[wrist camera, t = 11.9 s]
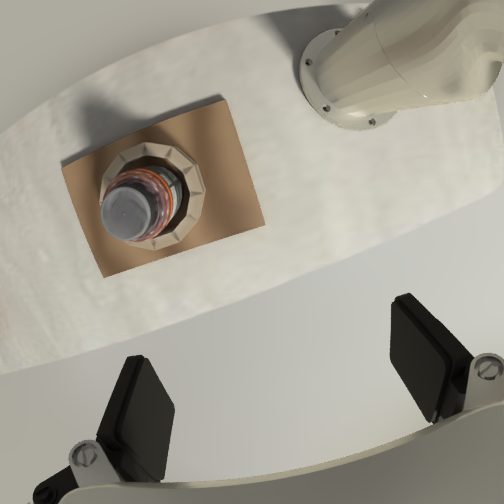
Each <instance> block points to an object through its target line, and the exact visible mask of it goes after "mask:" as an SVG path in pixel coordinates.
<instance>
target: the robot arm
mask: <svg viewBox="0 0 504 504" xmlns="http://www.w3.org/2000/svg"><path fill="white" fill-rule="evenodd" d="M306 62H307V63H308V64H309V66H308V65H306V64H305V63H306ZM502 63H504V0H374V1H373V2H372V3H370V4H369V5H368V6H367V7H366V8H365V9H364V10H363V11H362V12H361V13H359V14H358V15H357V16H356V17H355V18H354V19H353V20H352V21H351V22H350V23H349V24H348V25H347V26H345V27H344V28H334V29H329V30H327V31H324V32H322V33H320V34H319V35H317V36H316V37H314V38H313V39H312V40H311V41H310V43H309V44H308V45H307V47H306V48H305V50H304V51H303V54H302V56H301V59H300V66H299V76H300V82H301V85H302V89H303V91H304V93H305V95H306V97H307V99H308V101H309V102H310V104H311V105H312V106H313V108H314V109H315V110H316V111H317V112H318V113H319V114H320V115H321V116H322V117H324V118H325V119H327V120H328V121H329V122H331V123H333V124H335V125H337V126H339V127H342V128H345V129H349V130H358V131H361V130H371V129H375V128H378V127H380V126H382V125H384V124H386V123H387V122H388V121H390V120H391V119H392V118H393V116H394V115H395V114H396V113H397V111H398V110H405V109H411V108H418V107H425V106H432V105H440V104H447V103H455V102H463V101H468V100H472V99H475V98H478V97H480V96H481V95H483V94H484V93H485V92H487V91H488V90H489V89H490V88H491V86H492V85H493V83H494V82H495V80H496V78H497V77H498V74H499V72H500V69H501V66H502ZM323 107H325V108H326V111H324V110H323ZM369 121H370V122H371V123H370V124H369ZM390 360H391V363H392V364H393V366H394V368H395V369H396V371H397V373H398V374H399V376H400V377H401V379H402V381H403V382H404V384H405V385H406V387H407V388H408V390H409V392H410V393H411V395H412V397H413V399H414V400H415V402H416V404H417V405H418V407H419V409H420V410H421V412H422V414H423V415H424V417H425V419H426V420H427V421H428V422H429V423H430V422H432V423H433V425H431V426H429V427H427V428H424V429H422V430H420V431H417V432H415V433H412V434H410V435H407V436H405V437H402V438H400V439H397V440H394V441H392V442H389V443H386V444H384V445H381V446H378V447H375V448H372V449H369V450H366V451H363V452H360V453H357V454H354V455H350V456H347V457H344V458H340V459H337V460H333V461H329V462H325V463H321V464H317V465H313V466H309V467H304V468H299V469H295V470H290V471H284V472H279V473H273V474H267V475H261V476H254V477H246V478H238V479H228V480H218V481H205V482H204V481H203V482H176V483H160V480H163V479H164V476H165V470H166V463H167V456H168V450H169V444H170V436H171V430H172V425H173V418H174V413H175V408H174V404H173V402H172V401H171V399H170V397H169V396H168V394H167V392H166V390H165V389H164V387H163V385H162V383H161V381H160V380H159V378H158V376H157V374H156V372H155V370H154V368H153V367H152V365H151V363H150V361H149V359H148V358H144V356H142V355H136V356H129V357H127V359H126V361H125V364H124V366H123V368H122V370H121V373H120V375H119V378H118V380H117V382H116V385H115V387H114V390H113V393H112V395H111V398H110V400H109V402H108V405H107V408H106V410H105V413H104V416H103V418H102V421H101V423H100V426H99V429H98V432H97V434H96V435H97V438H96V441H94V440H84V441H82V442H79V443H78V444H76V445H75V446H74V447H73V448H72V450H71V451H70V453H69V464H70V465H69V466H68V467H66V468H65V469H63V470H61V471H60V472H58V473H56V474H55V475H53V476H52V477H50V478H48V479H47V480H45V481H43V482H42V483H40V484H39V485H38V486H37V487H36V488H35V490H34V493H33V502H34V503H33V504H504V359H503V358H501V357H500V356H498V355H496V354H492V353H483V354H480V355H478V356H476V357H475V358H474V357H473V356H472V355H471V354H470V353H469V351H468V350H467V349H466V348H465V347H464V346H463V345H462V344H461V343H460V342H459V341H458V340H457V338H456V337H455V336H454V335H453V334H452V333H451V332H450V331H449V330H448V329H447V328H446V327H445V326H444V325H443V324H442V323H441V322H440V321H439V320H438V319H436V318H435V317H434V316H433V315H432V314H431V313H430V312H429V311H428V310H427V309H426V308H425V307H424V306H423V305H422V304H421V303H420V302H419V301H418V300H417V299H416V298H415V297H414V296H413V295H412V294H411V293H407V294H403V295H401V296H397V297H396V298H395V301H394V302H392V304H391V340H390ZM28 504H31V503H30V502H29V503H28Z"/></svg>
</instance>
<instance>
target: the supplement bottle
mask: <svg viewBox="0 0 504 504" xmlns="http://www.w3.org/2000/svg"><path fill="white" fill-rule="evenodd" d="M183 196H184V189H183V184H182V181H181V179H180V178H179V176H178V175H177V174H176V173H175V172H174V171H173V170H172V169H170V168H168V167H166V166H163V165H151V166H146V167H142V168H138V169H134V170H130V171H126V172H124V173H122V174H120V175H118V176H117V177H116V178H114V179H113V180H112V181H111V183H110V184H109V185H108V187H107V189H106V191H105V193H104V196H103V202H102V204H101V209H100V216H101V221H102V224H103V226H104V228H105V229H106V231H107V232H108V233H109V234H110V235H111V236H113V237H114V238H116V239H119V240H124V241H130V242H144V241H147V240H150V239H152V238H154V237H155V236H157V235H158V234H159V233H160V232H161V231H162V230H163V229H164V228H165V226H166V225H167V224H168V223H169V221H170V220H171V219H172V217H173V216H174V215H175V213H176V212H177V211H178V209H179V208H180V206H181V204H182V201H183Z"/></svg>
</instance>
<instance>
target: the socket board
mask: <svg viewBox="0 0 504 504" xmlns="http://www.w3.org/2000/svg"><path fill="white" fill-rule="evenodd" d="M151 165H163V166H166V167H168V168H170V169H172V170H173V171H174V172H175V173H176V174H177V175H178V176H179V178H180V179H181V181H182V184H183V189H184V196H183V201H182V204H181V206H180V208H179V209H178V211H177V212H176V213H175V215H174V216H173V217H172V219H171V220H170V221H169V223H168V224H167V225H166V226H165V228H164V229H163V230H162V231H161V232H160V233H159V234H158V235H157V236H155V237H154V238H152V239H150V240H147V241H144V242H130V241H124V240H119V239H116V238H114V237H113V236H111V235H110V234H109V233H108V232H107V231H106V229H105V228H104V226H103V224H102V221H101V216H100V209H101V204H102V202H103V196H104V193H105V191H106V189H107V187H108V185H109V184H110V183H111V181H112V180H113V179H114V178H116V177H117V176H118V175H120V174H122V173H124V172H126V171H130V170H134V169H138V168H142V167H146V166H151ZM61 170H62V173H63V176H64V179H65V182H66V185H67V188H68V191H69V194H70V197H71V200H72V203H73V205H74V208H75V211H76V213H77V216H78V219H79V221H80V224H81V226H82V229H83V232H84V234H85V236H86V239H87V241H88V244H89V246H90V248H91V251H92V253H93V255H94V258H95V260H96V262H97V264H98V267H99V269H100V271H101V273H102V275H103V278H106V277H109V276H111V275H114V274H117V273H120V272H123V271H126V270H129V269H132V268H135V267H138V266H141V265H144V264H147V263H150V262H153V261H156V260H159V259H162V258H165V257H168V256H171V255H174V254H177V253H180V252H183V251H186V250H189V249H192V248H195V247H198V246H201V245H204V244H207V243H210V242H214V241H217V240H220V239H223V238H226V237H229V236H232V235H235V234H239V233H242V232H245V231H248V230H251V229H254V228H258V227H261V226H264V225H265V222H264V218H263V215H262V212H261V208H260V205H259V202H258V199H257V195H256V192H255V189H254V186H253V183H252V179H251V176H250V173H249V170H248V167H247V163H246V160H245V157H244V154H243V151H242V148H241V144H240V141H239V138H238V135H237V132H236V129H235V126H234V123H233V119H232V116H231V113H230V110H229V107H228V104H227V101H226V100H222V101H219V102H216V103H213V104H210V105H207V106H204V107H201V108H198V109H195V110H192V111H189V112H186V113H183V114H180V115H178V116H175V117H172V118H170V119H167V120H164V121H162V122H159V123H157V124H154V125H152V126H149V127H147V128H144V129H142V130H140V131H137V132H135V133H133V134H130V135H128V136H126V137H123V138H121V139H119V140H117V141H115V142H112V143H110V144H108V145H106V146H104V147H102V148H100V149H98V150H96V151H94V152H92V153H90V154H88V155H86V156H84V157H82V158H80V159H78V160H76V161H74V162H72V163H70V164H69V165H67V166H65V167H63V168H61Z"/></svg>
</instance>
